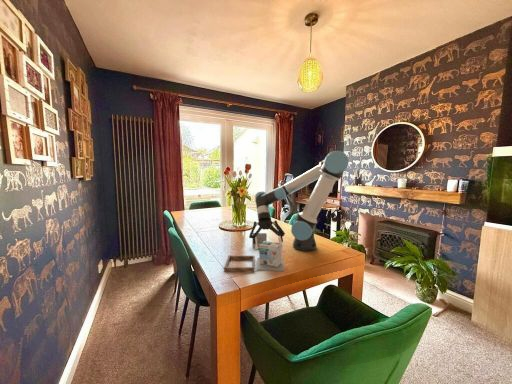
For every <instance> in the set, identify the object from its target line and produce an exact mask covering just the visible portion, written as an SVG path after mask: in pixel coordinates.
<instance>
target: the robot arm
mask: <svg viewBox="0 0 512 384" xmlns="http://www.w3.org/2000/svg"><path fill="white" fill-rule="evenodd" d="M349 161H350V160H349V157H348V156H347V154H346V153H345V152H343V151H342V150H341V151H340V150H332V151H331V152H328V154H327V155H326V156H325V158H324V159H323V160H322V161H319V164H318V165H316V166H314V167H313V168H311V169H309V170H307V171H306V172H304V173H302V174H300V175H299V176H297V177H294V179H292V180H290V181H288V182H286V183H284V184H283V185H281V186H279V187H277V188H274V189H272V190H270V191H267V192H266V191H258V192H256V193H255V197H254V201H255V205H256V206H255V207H256V213H257V218H258V219H257V220H258V221H255V220H254V221H253V226H252V228H251V231H250V233H249V237H248V238H249V239H252V240H253V244H255V247H254V248H255V251H259V248H258V245H257V237H256V236H257V234H258V233H261V230H264V231H265V230H271V232H273V233H274V234H275V235H276V236H278V239H277V240H278V243H281V250H282V249H283V247H284V246H283V243H284V236H285V234H286V232H285V231H284V230H283V229H282V228H281V226H280V224H279V223H278V221H277V220H274V221H272V218H271V212H270V207H269V206H270V205H272V204H275V203H277V202H279V201H282V200H284V199H286V198H287V196H289V195H291V194H294V193H296V192H297V191H299V190H301V189H302V188H305V187H306V186H308V185H310V184H312V183H314V182H315V181H317V182H316V184H315V186H314V188H313V190H312V192H311V194H310V196H309V198H308V200H307V202H306V204H305V206H304V208H303V210H302V211H301V212H297V213H296V216H295V217H296V218H295V220H294V222H293V223H292V225H291V228H290V229H291V235H292V236H293V237H294V240H293V243H292V247H293V248H294V249H295V250H298V251H301V252H313V251H315V250H317V241H316V238H315V227H316V226H317V224H318V220H317V217H318V216H319V213H320V212H321V210H322V208H323V207H324V205H325V202H326V201H327V198H328V196H329V195H330V193H331V191H332V189H333V187H334V185H335V184H336V182H337V181H340V180H341V178H342V176H343V174H344V173H345V171H346V169H347V168H348V167H349ZM257 226H258V228H257V229H256V227H257ZM255 229H256V230H255ZM253 233H255V234H254V235H253Z"/></svg>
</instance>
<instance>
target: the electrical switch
mask: <svg viewBox="0 0 512 384" xmlns="http://www.w3.org/2000/svg"><path fill="white" fill-rule="evenodd" d="M254 234H255V232H253V234H252V235H254ZM256 237H257V245H258V249H259V244H261V243H262V242H263V241H267V237H268V234H267V233H266V232H259V233H258V234H257V236H256ZM252 248H256V247H255V244H253V239H252Z"/></svg>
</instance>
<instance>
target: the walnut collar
mask: <svg viewBox="0 0 512 384" xmlns="http://www.w3.org/2000/svg"><path fill="white" fill-rule="evenodd" d="M255 258H256V256H255V255H242V254H241V255H237V254H236V255H235V254H234V255H232V254H231V255H230V254H229V255H228V256H227V259H226V262H225V264H224V269H223V270H224V271H223V272H225V273H227V272H230V273H231V272H232V273H233V272H235V273H236V272H237V273H239V272H240V273H254V272H255V262H256V261H255V260H256V259H255ZM231 260H242V261H243V260H244V261H245V260H248V261H252V263H251V266H250V267H249V266H229V263H230V261H231Z"/></svg>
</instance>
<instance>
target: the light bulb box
mask: <svg viewBox="0 0 512 384" xmlns="http://www.w3.org/2000/svg"><path fill="white" fill-rule="evenodd" d="M258 255H259V257H258V258H259V262H260V264H265V265H270V266H275V267H278V266H279V264H280V263H281V262H282V261H283V258H282V257H283V256H282V249H281V243H279V242H275V241H274V242H273V241H263V242H262V243H261V244H259V248H258Z"/></svg>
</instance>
